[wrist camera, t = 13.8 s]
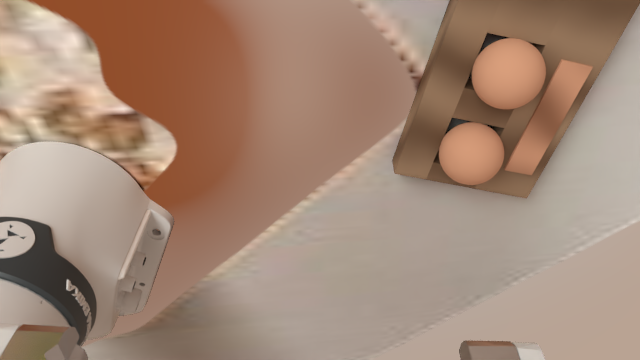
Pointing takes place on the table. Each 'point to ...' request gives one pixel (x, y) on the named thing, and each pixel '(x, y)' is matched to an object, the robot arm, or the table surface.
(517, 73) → the terracotta ball
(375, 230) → the table surface
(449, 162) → the terracotta ball
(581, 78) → the walnut ball rack
